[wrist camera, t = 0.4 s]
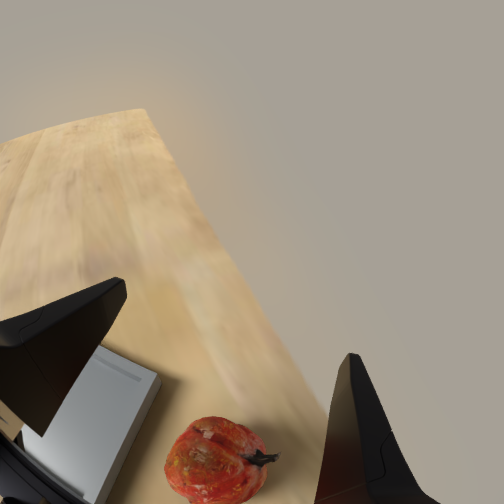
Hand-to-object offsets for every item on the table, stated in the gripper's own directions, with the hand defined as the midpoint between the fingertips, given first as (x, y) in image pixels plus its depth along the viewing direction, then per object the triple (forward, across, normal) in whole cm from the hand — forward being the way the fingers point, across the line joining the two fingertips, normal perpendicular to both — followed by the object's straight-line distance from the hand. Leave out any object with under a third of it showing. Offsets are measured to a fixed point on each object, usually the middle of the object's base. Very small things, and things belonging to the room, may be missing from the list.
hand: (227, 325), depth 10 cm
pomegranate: (-1, -1, +17) cm, 17 cm away
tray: (-3, +13, +17) cm, 22 cm away
